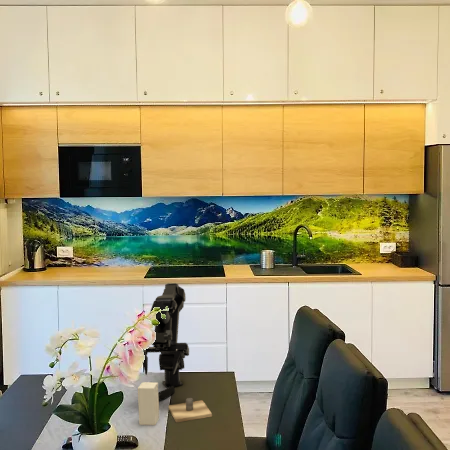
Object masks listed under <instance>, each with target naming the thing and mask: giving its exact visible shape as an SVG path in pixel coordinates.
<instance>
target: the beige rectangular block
mask: <svg viewBox="0 0 450 450" xmlns="http://www.w3.org/2000/svg"><path fill="white" fill-rule="evenodd" d="M158 392H159V382H148V381H146V382H145V381H142V382H141V383H140V385H139V386H138V387H137V400H138V401H137V402H138V403H137V404H138V421H139V423H138V424H139V426H157V425H156V424H157V423H158V422H159V420H160V403H159V401H160V400H159V398H158Z"/></svg>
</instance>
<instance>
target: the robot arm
mask: <svg viewBox="0 0 450 450" xmlns="http://www.w3.org/2000/svg"><path fill="white" fill-rule="evenodd" d="M186 298H187V297H186V292H185V289H184V288H183V287H181V286H179V283H176V282H174V283H169V282H168V283H165V286H164V289H163V292H162V295H158V296H157V297H155V299H154V300H153V303H152V305H151V309H150V312H149V313H151V311H152V310H153V308H154V307H160V309H161V310H163V309H165V307H166V306H168V308H169V311H161V313H162V314H165V315H166V319H162V318H161V313H160V312H158V313H157V314H156V319H157V320H158V321H159V322H160V324H159V325H158V326H155V325H154V331H155V332H156V340H155V342H154V343H153V344H152V343H151V345H152V346H148V347H149V348H148V349H146V350H144V355H145V360H144V363H143V362H142V365H143V369H144V374H145V375H146V376H147V375H148V369H149V367H148V366H149V365H148V364H149V363H148V362H149V357H148V354H149V353H160V354H159V355H158V364H159V371H164V380H162V382H161V383H162V384H163V386H164V387H165V388H166V389H167V388H170V387H172V386H174V387H178V386H183V385H184V384H183V382H182V381H181V379H180V376H181V375H180V371H182V370H183V369H185V358H186V357H188V356H190V347H189V344H188V343H187V342H178V340H179V339H178V337H179V335H178V334H179V323H180V322H179V321H180V312H181V311H182V309H183V308H184V304H185V302H186Z"/></svg>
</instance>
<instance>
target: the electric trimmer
mask: <svg viewBox="0 0 450 450" xmlns="http://www.w3.org/2000/svg"><path fill="white" fill-rule="evenodd" d="M175 391H176V390H175V386H172V387H168V388H166V389H162V390H161V391H158V398H159V401H164V400H165V399H168V397H170V396H171V395H173V394H174V393H175Z"/></svg>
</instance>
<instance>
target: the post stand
mask: <svg viewBox="0 0 450 450" xmlns="http://www.w3.org/2000/svg"><path fill="white" fill-rule="evenodd" d="M168 410H169V412H170V414H171V416H172V417H173V420H174V421H175V423H181V422H187V421H193V420H200V419H204V418H212V417H213V414H212V412H211V410H210V409H209V408H208V406H207V404H206V403H205V402H204V400H202V399H201V400H196V401H194V398H193V397H187V398H186V399H185V402H182V403H174V404H170V405H168Z"/></svg>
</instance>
